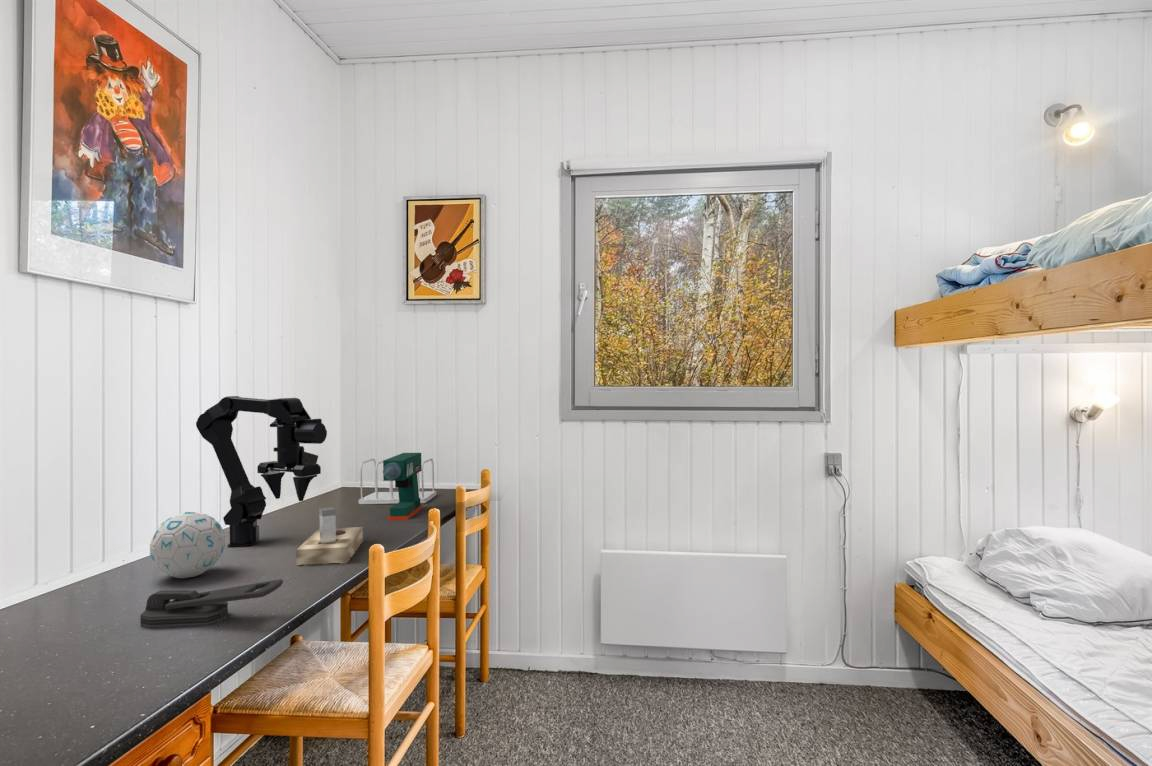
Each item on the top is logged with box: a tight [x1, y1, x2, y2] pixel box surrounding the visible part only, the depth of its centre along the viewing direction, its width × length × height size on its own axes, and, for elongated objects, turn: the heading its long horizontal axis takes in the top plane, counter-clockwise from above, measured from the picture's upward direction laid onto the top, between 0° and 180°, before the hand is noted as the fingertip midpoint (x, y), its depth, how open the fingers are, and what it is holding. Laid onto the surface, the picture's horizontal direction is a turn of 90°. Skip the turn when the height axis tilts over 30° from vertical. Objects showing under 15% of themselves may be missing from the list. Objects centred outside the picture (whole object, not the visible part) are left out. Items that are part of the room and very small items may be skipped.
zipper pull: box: [139, 578, 284, 629], centre depth 119 cm, size 9×7×25 cm
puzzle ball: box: [149, 511, 226, 579], centre depth 146 cm, size 15×15×15 cm
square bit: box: [318, 507, 337, 544], centre depth 161 cm, size 3×3×12 cm
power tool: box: [382, 452, 423, 521], centre depth 206 cm, size 32×7×20 cm, turn 179°
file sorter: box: [358, 458, 437, 505], centre depth 239 cm, size 25×17×16 cm
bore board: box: [295, 526, 364, 565], centre depth 165 cm, size 12×22×4 cm, turn 9°
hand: (289, 499), depth 172 cm, fingers open, 9 cm apart
